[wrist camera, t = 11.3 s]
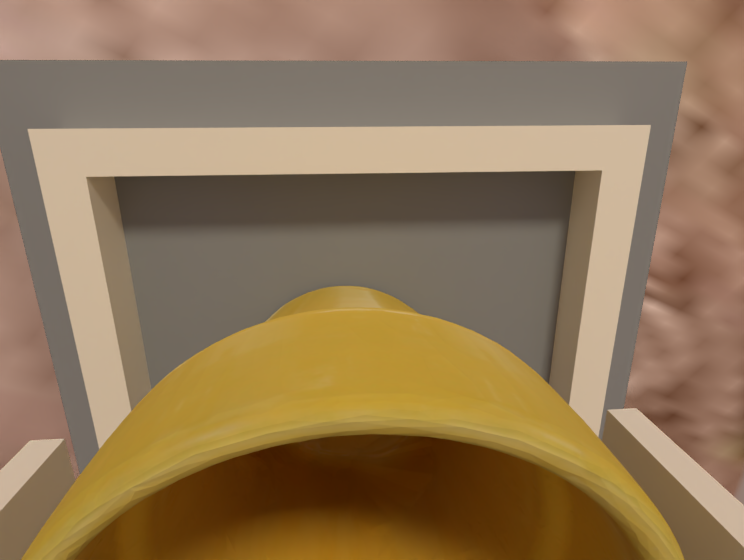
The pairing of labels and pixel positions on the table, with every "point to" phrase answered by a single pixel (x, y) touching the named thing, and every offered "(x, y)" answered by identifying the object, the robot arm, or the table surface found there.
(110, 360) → the board
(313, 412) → the plant pot
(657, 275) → the table surface
